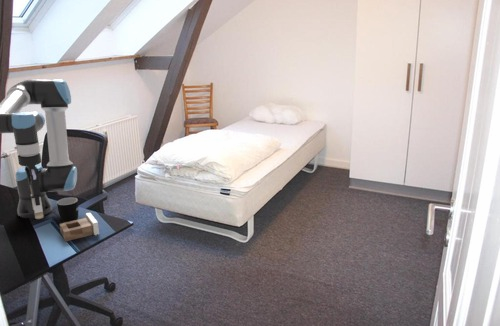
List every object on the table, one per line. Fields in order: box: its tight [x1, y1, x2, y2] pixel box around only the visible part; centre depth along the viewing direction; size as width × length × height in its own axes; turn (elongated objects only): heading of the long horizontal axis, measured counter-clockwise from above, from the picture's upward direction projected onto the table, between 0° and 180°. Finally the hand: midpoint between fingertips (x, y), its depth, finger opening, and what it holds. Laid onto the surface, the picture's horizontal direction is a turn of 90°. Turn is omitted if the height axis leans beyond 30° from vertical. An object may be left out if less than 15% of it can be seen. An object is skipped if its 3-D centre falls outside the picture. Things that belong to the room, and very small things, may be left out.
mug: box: [56, 196, 79, 223], centre depth 187 cm, size 12×9×10 cm
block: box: [59, 217, 94, 242], centre depth 175 cm, size 9×11×4 cm
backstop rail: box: [85, 212, 100, 236], centre depth 179 cm, size 12×2×6 cm, turn 36°
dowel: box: [30, 185, 45, 220], centre depth 154 cm, size 3×3×14 cm
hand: (37, 210), depth 156 cm, fingers closed on dowel, 3 cm apart
